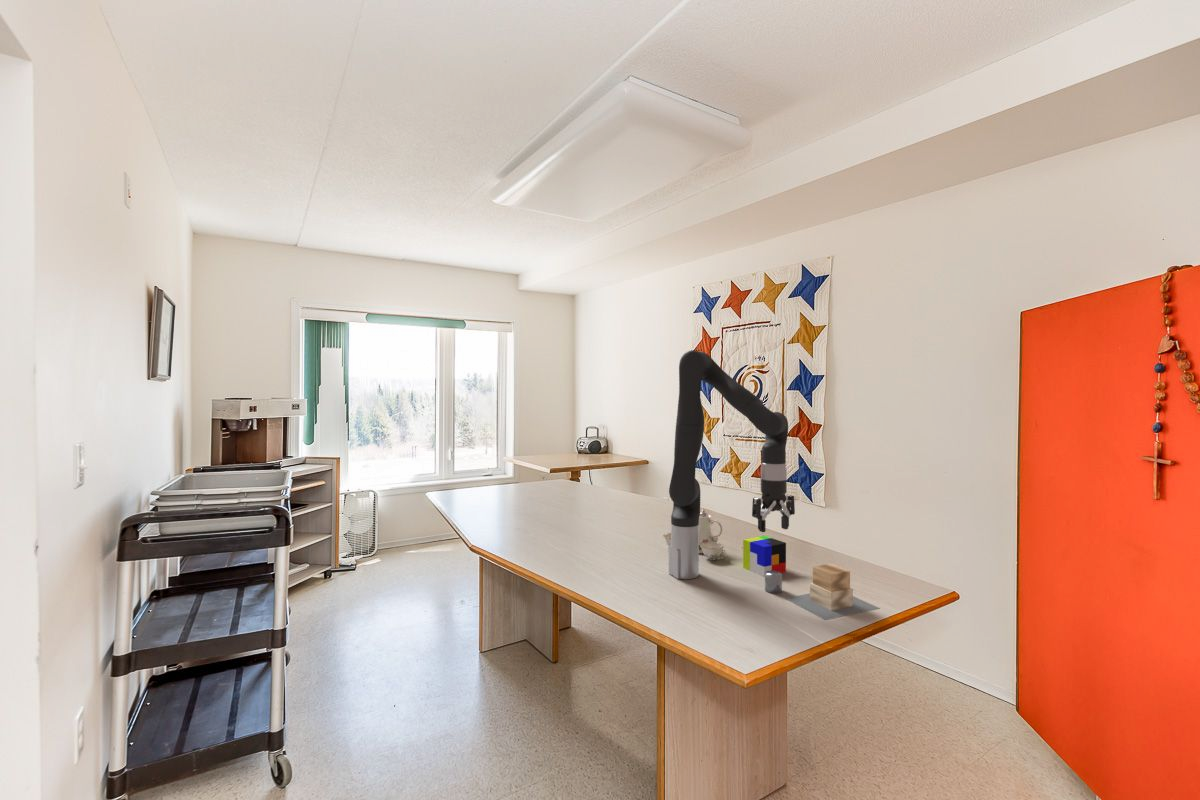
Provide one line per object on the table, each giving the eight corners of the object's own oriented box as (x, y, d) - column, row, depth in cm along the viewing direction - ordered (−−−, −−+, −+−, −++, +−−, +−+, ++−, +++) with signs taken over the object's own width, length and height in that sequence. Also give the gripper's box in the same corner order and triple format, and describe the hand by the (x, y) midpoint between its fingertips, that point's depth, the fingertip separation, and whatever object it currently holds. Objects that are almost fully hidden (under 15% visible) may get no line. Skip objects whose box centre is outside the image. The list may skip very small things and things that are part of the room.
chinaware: (656, 553, 209) (654, 512, 207) (680, 540, 221) (677, 501, 220) (721, 569, 190) (718, 524, 189) (742, 553, 203) (740, 511, 201)
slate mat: (825, 622, 144) (825, 619, 144) (784, 600, 158) (784, 598, 158) (880, 610, 151) (880, 608, 151) (836, 590, 166) (836, 588, 166)
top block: (831, 592, 150) (831, 574, 150) (812, 583, 157) (812, 566, 156) (850, 588, 153) (850, 571, 152) (831, 580, 159) (831, 563, 159)
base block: (831, 610, 150) (831, 592, 149) (810, 600, 157) (810, 583, 157) (852, 606, 152) (852, 588, 152) (831, 596, 160) (831, 579, 160)
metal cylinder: (772, 596, 161) (772, 577, 161) (761, 591, 166) (761, 571, 166) (785, 594, 163) (785, 574, 163) (774, 588, 168) (774, 569, 168)
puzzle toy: (764, 576, 178) (764, 547, 178) (743, 567, 187) (743, 539, 187) (785, 571, 183) (786, 542, 183) (764, 563, 192) (764, 535, 192)
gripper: (762, 481, 158) (762, 535, 158) (800, 477, 163) (800, 530, 163) (746, 477, 164) (746, 529, 165) (783, 474, 170) (783, 525, 170)
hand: (773, 530), depth 164 cm, fingers open, 8 cm apart
